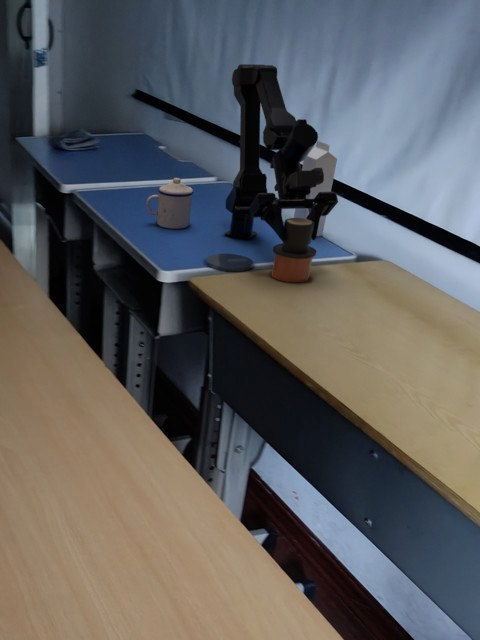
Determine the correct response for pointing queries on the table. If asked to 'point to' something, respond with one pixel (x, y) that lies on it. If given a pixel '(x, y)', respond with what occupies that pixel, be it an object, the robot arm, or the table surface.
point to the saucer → (229, 262)
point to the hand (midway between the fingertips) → (299, 239)
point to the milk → (327, 162)
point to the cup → (291, 268)
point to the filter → (296, 239)
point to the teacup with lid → (173, 205)
